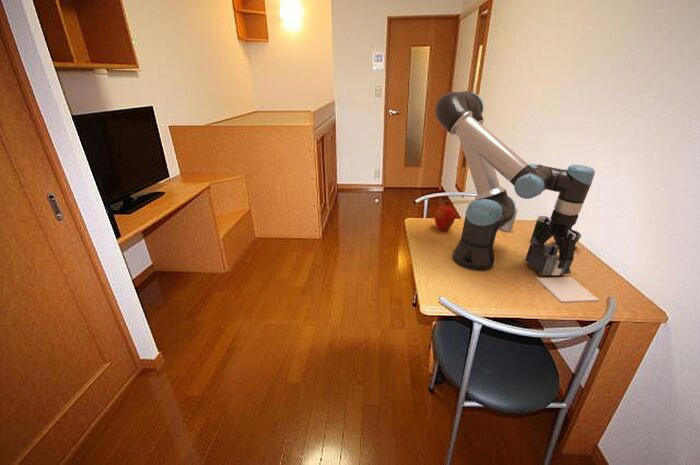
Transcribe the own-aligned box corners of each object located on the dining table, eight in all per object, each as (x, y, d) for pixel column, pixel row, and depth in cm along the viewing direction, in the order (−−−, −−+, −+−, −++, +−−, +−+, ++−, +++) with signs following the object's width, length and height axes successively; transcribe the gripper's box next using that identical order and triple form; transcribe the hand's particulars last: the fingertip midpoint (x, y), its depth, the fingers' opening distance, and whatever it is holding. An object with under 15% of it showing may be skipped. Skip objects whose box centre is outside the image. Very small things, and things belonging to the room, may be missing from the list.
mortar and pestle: (564, 241, 142) (573, 216, 136) (581, 251, 133) (591, 225, 128) (541, 241, 140) (550, 216, 135) (556, 252, 132) (566, 226, 127)
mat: (560, 302, 102) (561, 301, 102) (536, 279, 113) (536, 277, 113) (598, 301, 103) (599, 299, 103) (570, 278, 115) (570, 277, 114)
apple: (430, 225, 152) (433, 201, 147) (448, 225, 153) (452, 201, 148) (436, 234, 144) (440, 209, 139) (455, 233, 145) (460, 209, 140)
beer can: (541, 247, 135) (550, 222, 130) (528, 243, 139) (536, 217, 133) (545, 243, 139) (554, 218, 133) (532, 239, 142) (540, 214, 137)
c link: (541, 274, 114) (547, 258, 111) (524, 260, 123) (530, 244, 120) (567, 274, 115) (574, 257, 112) (549, 259, 124) (554, 244, 121)
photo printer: (513, 230, 150) (520, 206, 144) (508, 233, 147) (515, 208, 142) (493, 223, 157) (499, 199, 152) (488, 225, 155) (494, 201, 149)
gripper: (602, 225, 99) (577, 284, 109) (554, 199, 119) (536, 251, 129) (580, 225, 98) (556, 284, 108) (535, 199, 118) (519, 251, 128)
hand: (545, 266), depth 119 cm, fingers closed on c link, 10 cm apart
